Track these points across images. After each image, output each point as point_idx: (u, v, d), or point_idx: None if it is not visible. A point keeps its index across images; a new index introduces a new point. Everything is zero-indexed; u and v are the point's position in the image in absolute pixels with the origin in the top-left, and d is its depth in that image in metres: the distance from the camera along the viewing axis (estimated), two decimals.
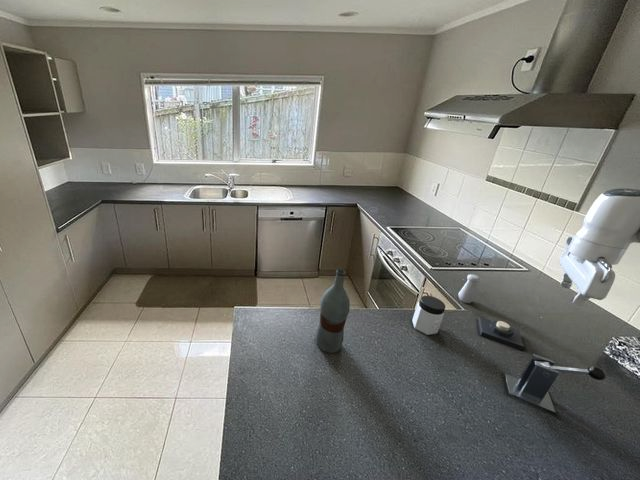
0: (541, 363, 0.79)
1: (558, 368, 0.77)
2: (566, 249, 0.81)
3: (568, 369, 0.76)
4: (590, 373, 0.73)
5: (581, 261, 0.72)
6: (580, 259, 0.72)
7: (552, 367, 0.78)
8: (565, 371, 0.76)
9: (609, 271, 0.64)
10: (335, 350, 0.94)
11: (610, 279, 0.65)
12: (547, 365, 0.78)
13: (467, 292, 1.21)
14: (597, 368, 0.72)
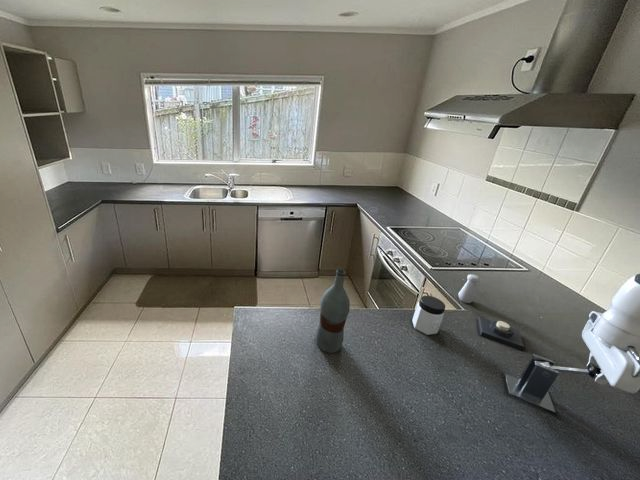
0: (541, 363, 0.79)
1: (558, 368, 0.77)
2: (589, 324, 0.77)
3: (568, 369, 0.76)
4: (590, 373, 0.73)
5: (608, 346, 0.68)
6: (607, 343, 0.68)
7: (552, 367, 0.78)
8: (565, 371, 0.76)
9: None
10: (335, 350, 0.94)
11: None
12: (547, 365, 0.78)
13: (467, 292, 1.21)
14: (597, 368, 0.72)
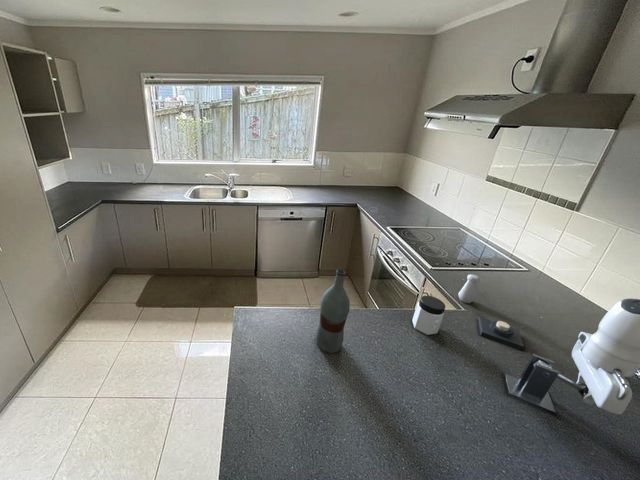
0: (545, 364, 0.79)
1: None
2: (579, 344, 0.79)
3: (566, 379, 0.77)
4: (583, 390, 0.75)
5: (596, 367, 0.71)
6: (595, 365, 0.71)
7: None
8: (561, 379, 0.77)
9: (626, 390, 0.63)
10: (335, 350, 0.94)
11: (627, 397, 0.64)
12: None
13: (467, 292, 1.21)
14: None
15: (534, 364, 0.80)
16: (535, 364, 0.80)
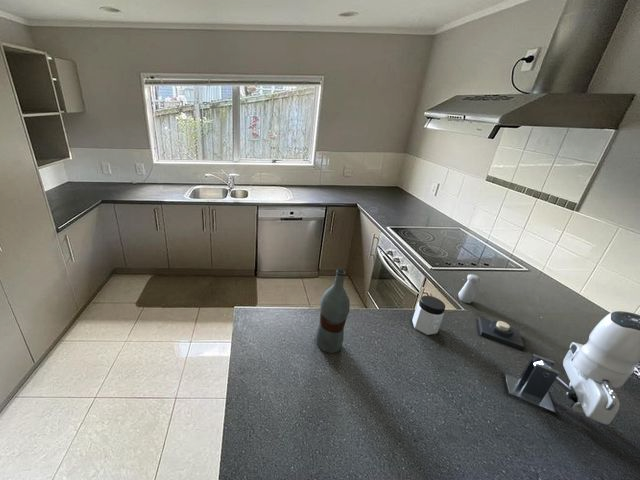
0: (547, 365, 0.78)
1: None
2: (570, 354, 0.81)
3: (561, 381, 0.77)
4: (575, 394, 0.76)
5: (585, 377, 0.73)
6: (584, 375, 0.73)
7: None
8: (557, 381, 0.78)
9: (614, 401, 0.65)
10: (335, 350, 0.94)
11: (614, 407, 0.66)
12: None
13: (467, 292, 1.21)
14: None
15: (534, 363, 0.80)
16: None
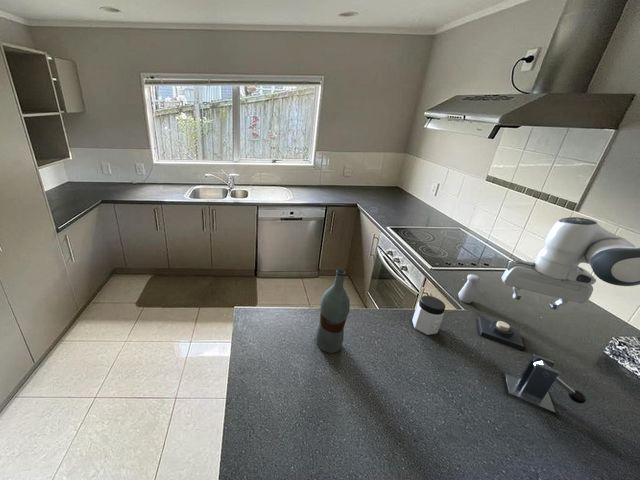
0: (546, 365, 0.78)
1: None
2: None
3: (561, 381, 0.77)
4: (575, 394, 0.76)
5: None
6: None
7: None
8: (557, 381, 0.78)
9: None
10: (335, 350, 0.94)
11: (511, 269, 0.91)
12: None
13: (467, 292, 1.21)
14: (584, 395, 0.76)
15: (534, 363, 0.80)
16: None
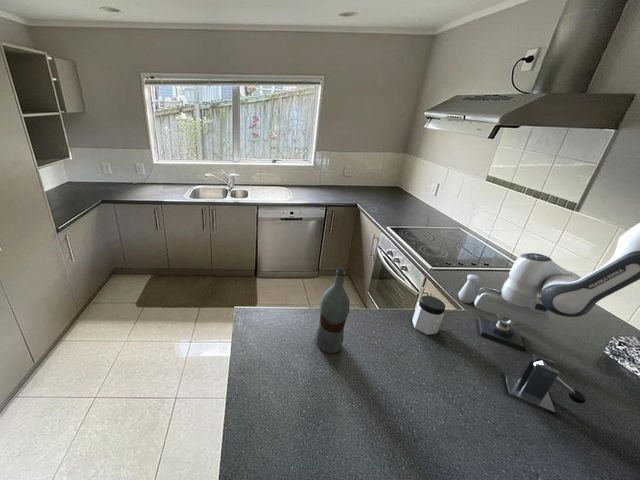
0: (546, 365, 0.78)
1: None
2: None
3: (561, 381, 0.77)
4: (575, 394, 0.76)
5: None
6: None
7: None
8: (557, 381, 0.78)
9: None
10: (335, 350, 0.94)
11: (481, 294, 1.04)
12: None
13: (467, 292, 1.21)
14: (584, 395, 0.76)
15: (534, 363, 0.80)
16: None
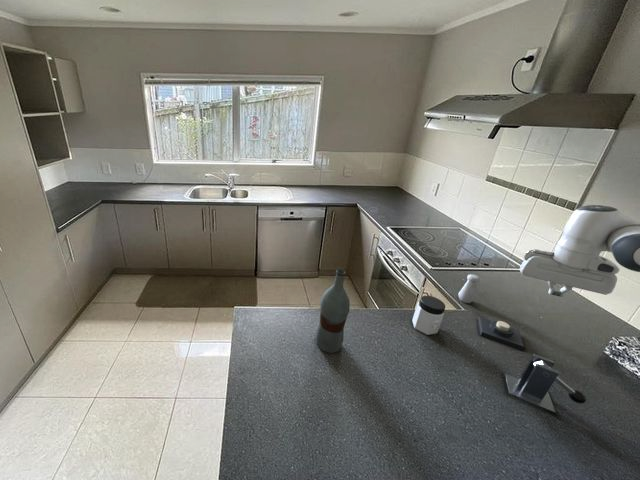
0: (546, 365, 0.78)
1: None
2: None
3: (561, 381, 0.77)
4: (575, 394, 0.76)
5: None
6: None
7: None
8: (557, 381, 0.78)
9: None
10: (335, 350, 0.94)
11: (528, 259, 0.90)
12: None
13: (467, 292, 1.21)
14: (584, 395, 0.76)
15: (534, 363, 0.80)
16: None
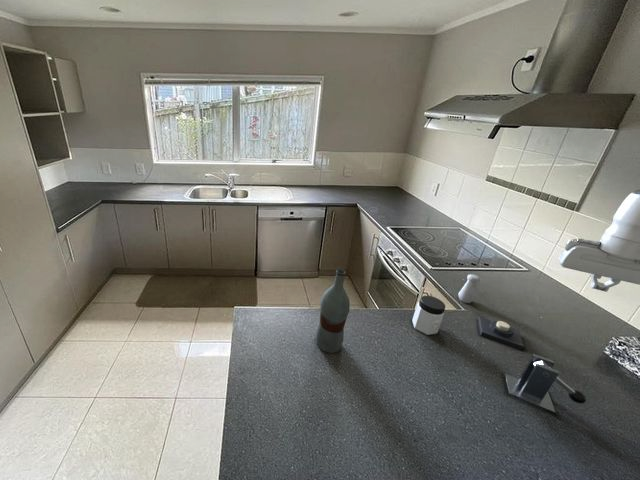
0: (546, 365, 0.78)
1: None
2: None
3: (561, 381, 0.77)
4: (575, 394, 0.76)
5: None
6: None
7: None
8: (557, 381, 0.78)
9: None
10: (335, 350, 0.94)
11: (571, 249, 0.81)
12: None
13: (467, 292, 1.21)
14: (584, 395, 0.76)
15: (534, 363, 0.80)
16: None
